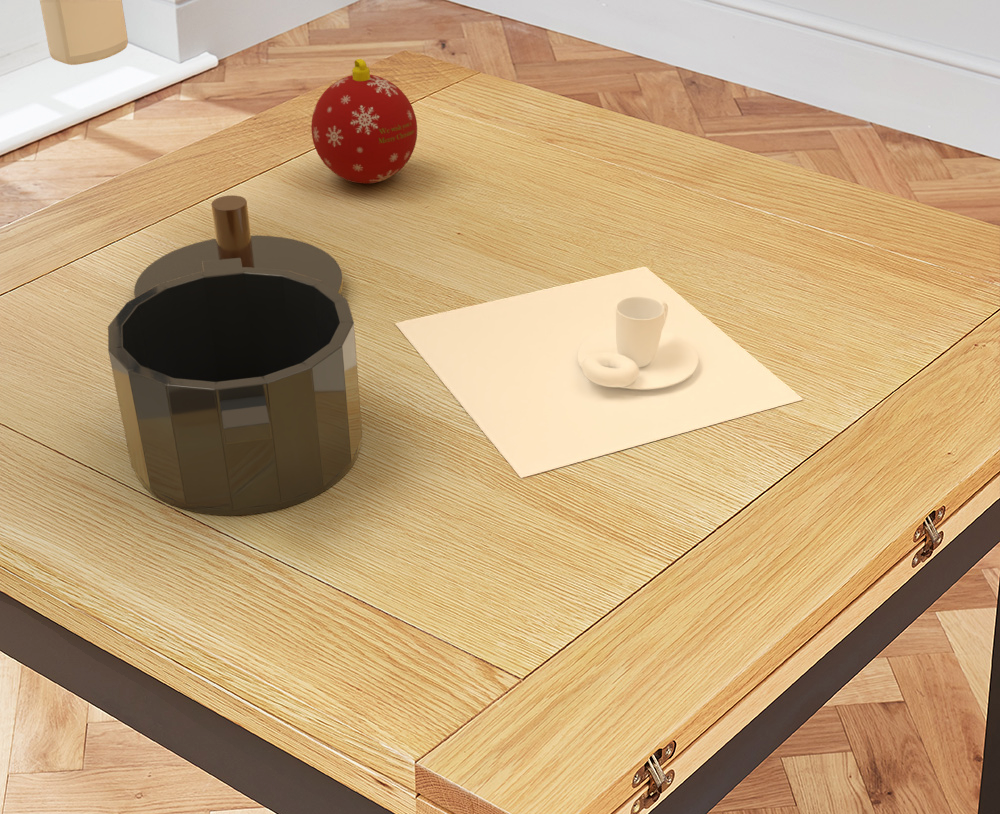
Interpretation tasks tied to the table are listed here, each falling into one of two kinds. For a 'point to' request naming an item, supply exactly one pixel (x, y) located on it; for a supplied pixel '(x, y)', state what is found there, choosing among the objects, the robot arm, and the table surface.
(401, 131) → the christmas ornament
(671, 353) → the teacup and saucer
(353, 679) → the table surface
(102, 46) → the eye dropper bottle
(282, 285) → the dark grey open cylinder
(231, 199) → the lid
